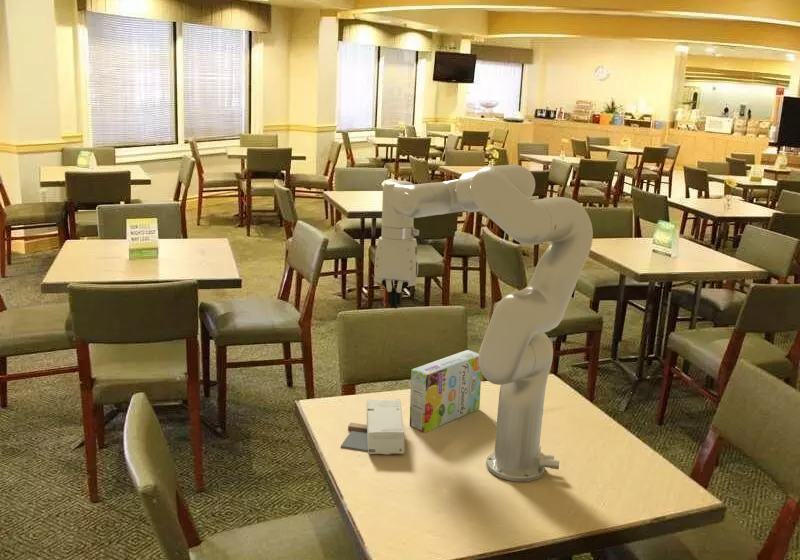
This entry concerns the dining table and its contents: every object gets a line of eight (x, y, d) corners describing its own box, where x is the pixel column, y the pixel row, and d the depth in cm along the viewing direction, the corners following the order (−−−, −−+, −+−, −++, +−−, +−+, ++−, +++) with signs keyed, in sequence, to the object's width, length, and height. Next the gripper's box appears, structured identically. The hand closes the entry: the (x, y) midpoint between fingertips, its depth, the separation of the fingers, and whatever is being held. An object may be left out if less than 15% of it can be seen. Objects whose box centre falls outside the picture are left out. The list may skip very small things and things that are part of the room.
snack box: (463, 402, 196) (467, 348, 193) (480, 409, 193) (484, 354, 189) (407, 426, 182) (410, 367, 178) (424, 434, 178) (427, 374, 174)
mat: (401, 438, 175) (401, 437, 175) (392, 455, 167) (392, 453, 167) (351, 431, 177) (351, 429, 177) (340, 447, 169) (340, 445, 169)
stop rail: (399, 434, 177) (399, 429, 177) (397, 438, 175) (397, 433, 175) (350, 427, 180) (350, 422, 179) (348, 430, 178) (348, 425, 177)
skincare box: (399, 398, 179) (406, 430, 165) (399, 420, 181) (406, 454, 167) (364, 399, 178) (368, 432, 164) (364, 421, 180) (368, 455, 166)
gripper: (430, 232, 180) (427, 305, 185) (371, 228, 184) (369, 300, 188) (424, 238, 173) (421, 314, 178) (362, 233, 177) (361, 308, 181)
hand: (394, 306), depth 183 cm, fingers closed
